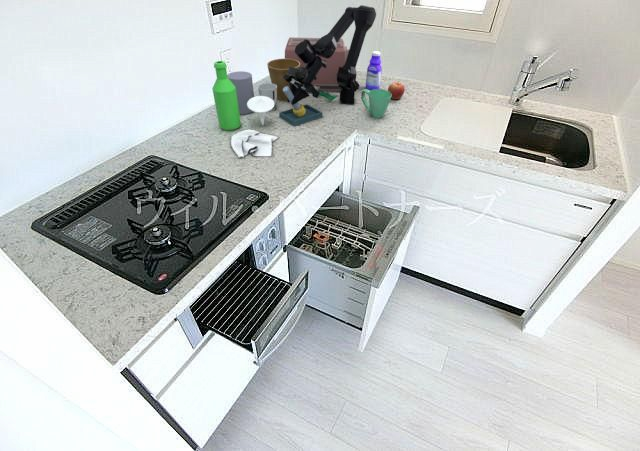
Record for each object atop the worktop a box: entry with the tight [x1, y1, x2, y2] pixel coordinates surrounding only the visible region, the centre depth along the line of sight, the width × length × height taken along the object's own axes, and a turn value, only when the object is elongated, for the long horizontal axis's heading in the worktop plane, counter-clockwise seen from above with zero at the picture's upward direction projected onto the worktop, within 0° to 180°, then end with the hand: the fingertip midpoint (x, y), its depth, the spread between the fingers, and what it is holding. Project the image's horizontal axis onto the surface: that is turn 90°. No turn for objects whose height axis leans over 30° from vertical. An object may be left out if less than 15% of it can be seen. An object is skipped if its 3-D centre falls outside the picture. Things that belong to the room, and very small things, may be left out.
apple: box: [387, 81, 406, 100], centre depth 163 cm, size 8×8×8 cm
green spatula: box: [315, 86, 339, 102], centre depth 162 cm, size 21×2×5 cm, turn 41°
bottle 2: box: [365, 50, 383, 91], centre depth 169 cm, size 7×6×17 cm
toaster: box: [284, 36, 350, 93], centre depth 171 cm, size 19×34×20 cm, turn 89°
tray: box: [278, 103, 323, 127], centre depth 147 cm, size 15×11×2 cm
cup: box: [257, 82, 278, 112], centre depth 150 cm, size 8×8×10 cm
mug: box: [360, 88, 392, 119], centre depth 148 cm, size 15×10×10 cm
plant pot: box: [266, 58, 300, 102], centre depth 158 cm, size 15×15×16 cm
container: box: [227, 70, 255, 115], centre depth 147 cm, size 10×10×15 cm
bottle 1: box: [212, 60, 242, 131], centre depth 131 cm, size 9×9×25 cm
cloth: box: [230, 129, 279, 159], centre depth 127 cm, size 20×22×2 cm
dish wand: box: [283, 86, 306, 117], centre depth 141 cm, size 5×5×14 cm
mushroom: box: [247, 95, 274, 127], centre depth 137 cm, size 10×11×12 cm
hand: (289, 103), depth 140 cm, fingers closed on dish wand, 2 cm apart
